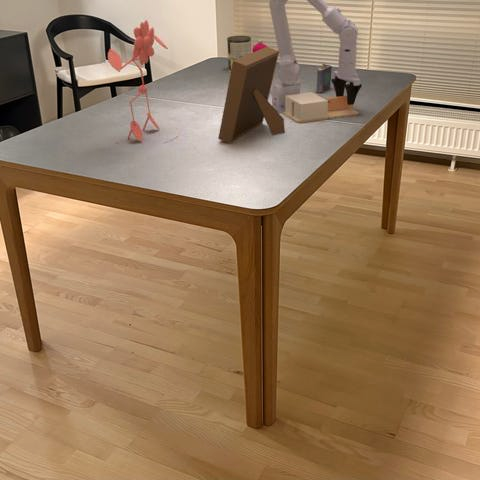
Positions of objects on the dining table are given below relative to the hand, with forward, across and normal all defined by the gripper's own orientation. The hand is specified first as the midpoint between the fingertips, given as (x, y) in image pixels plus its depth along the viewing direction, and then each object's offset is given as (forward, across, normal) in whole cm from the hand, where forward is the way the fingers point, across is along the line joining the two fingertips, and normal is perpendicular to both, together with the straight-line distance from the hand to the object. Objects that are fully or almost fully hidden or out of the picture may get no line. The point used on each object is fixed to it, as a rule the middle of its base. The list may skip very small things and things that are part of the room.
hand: (345, 101), depth 213 cm
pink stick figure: (+3, +1, +68) cm, 68 cm away
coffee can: (+3, +73, +11) cm, 74 cm away
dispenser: (+3, 0, +10) cm, 10 cm away
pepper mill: (+3, +35, +17) cm, 39 cm away
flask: (+3, +27, -6) cm, 28 cm away
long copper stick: (+2, 0, +7) cm, 7 cm away
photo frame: (+3, -11, +38) cm, 40 cm away
